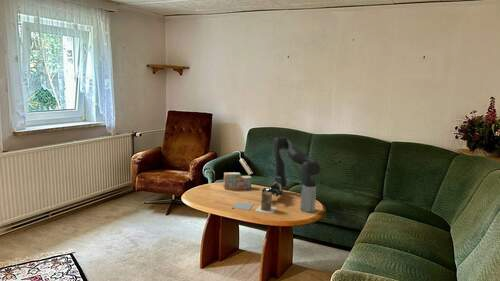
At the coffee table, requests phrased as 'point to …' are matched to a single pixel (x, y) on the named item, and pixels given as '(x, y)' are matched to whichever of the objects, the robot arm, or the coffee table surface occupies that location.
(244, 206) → the grey mat
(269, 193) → the walnut block
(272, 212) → the white tile
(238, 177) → the stack of blocks
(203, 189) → the coffee table surface
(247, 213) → the coffee table surface
